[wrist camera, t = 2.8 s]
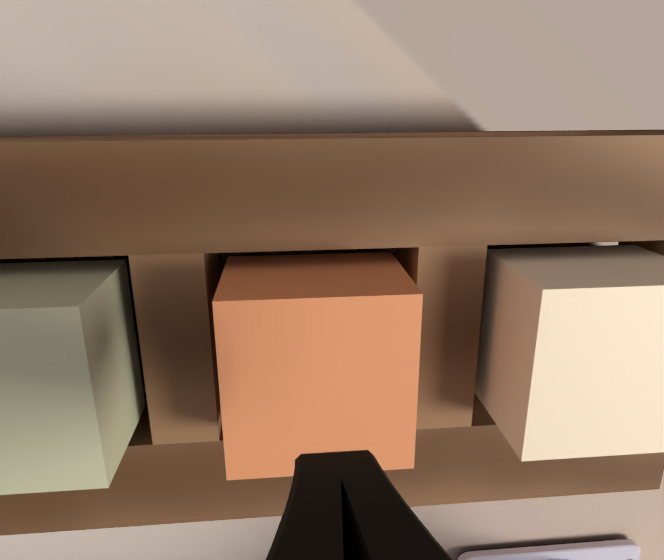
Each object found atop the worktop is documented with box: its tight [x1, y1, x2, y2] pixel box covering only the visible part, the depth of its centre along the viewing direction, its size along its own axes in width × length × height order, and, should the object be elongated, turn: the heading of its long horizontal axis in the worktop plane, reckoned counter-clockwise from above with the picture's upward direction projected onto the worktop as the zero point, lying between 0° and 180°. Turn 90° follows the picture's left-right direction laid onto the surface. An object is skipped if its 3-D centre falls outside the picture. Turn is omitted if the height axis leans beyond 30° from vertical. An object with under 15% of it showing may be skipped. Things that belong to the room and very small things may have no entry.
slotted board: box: [0, 130, 664, 535], centre depth 17 cm, size 12×24×3 cm, turn 90°
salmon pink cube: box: [212, 252, 423, 480], centre depth 15 cm, size 5×5×4 cm
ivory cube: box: [474, 245, 664, 461], centre depth 16 cm, size 5×5×4 cm
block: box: [0, 260, 145, 495], centre depth 15 cm, size 5×5×4 cm
